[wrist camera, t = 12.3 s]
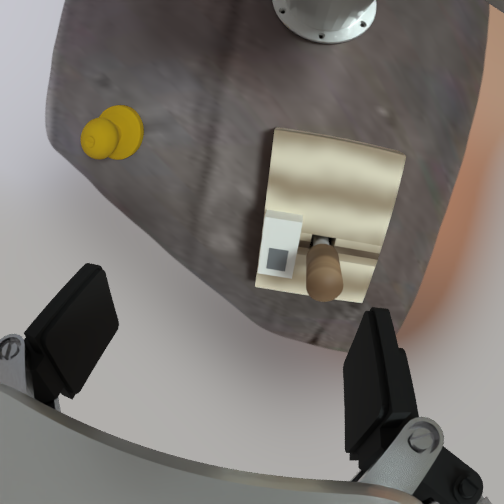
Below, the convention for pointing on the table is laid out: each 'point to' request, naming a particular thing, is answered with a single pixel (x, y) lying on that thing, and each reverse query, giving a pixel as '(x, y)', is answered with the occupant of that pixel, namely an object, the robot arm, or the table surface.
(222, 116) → the table surface
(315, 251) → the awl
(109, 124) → the doorknob
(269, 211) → the block
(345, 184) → the cream slotted tray
